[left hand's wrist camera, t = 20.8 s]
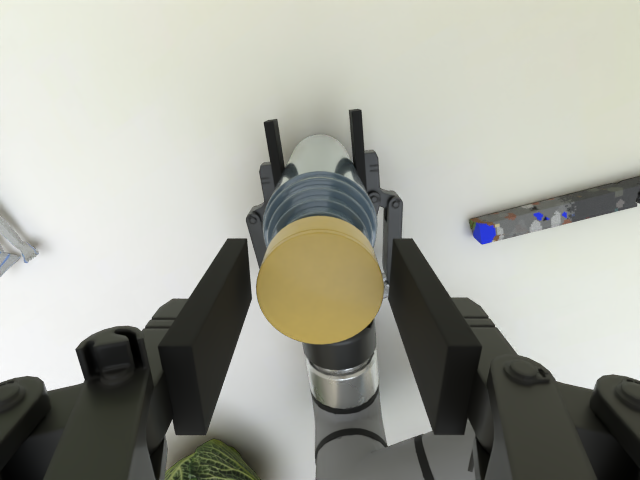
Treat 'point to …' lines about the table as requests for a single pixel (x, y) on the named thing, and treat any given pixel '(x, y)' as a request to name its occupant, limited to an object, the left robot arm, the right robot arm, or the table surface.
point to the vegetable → (212, 464)
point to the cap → (320, 281)
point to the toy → (5, 260)
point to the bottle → (320, 189)
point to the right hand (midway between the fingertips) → (312, 115)
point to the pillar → (557, 211)
